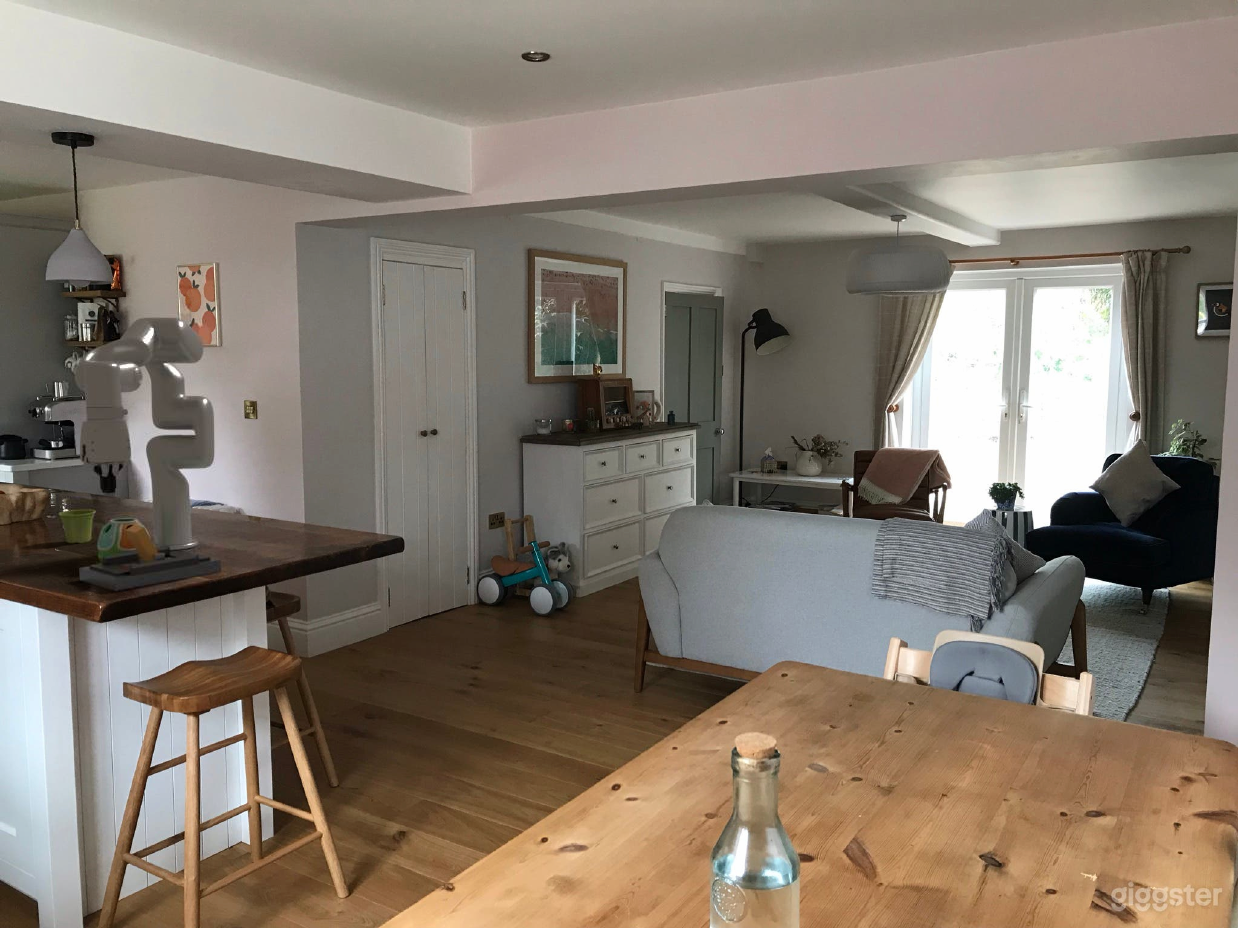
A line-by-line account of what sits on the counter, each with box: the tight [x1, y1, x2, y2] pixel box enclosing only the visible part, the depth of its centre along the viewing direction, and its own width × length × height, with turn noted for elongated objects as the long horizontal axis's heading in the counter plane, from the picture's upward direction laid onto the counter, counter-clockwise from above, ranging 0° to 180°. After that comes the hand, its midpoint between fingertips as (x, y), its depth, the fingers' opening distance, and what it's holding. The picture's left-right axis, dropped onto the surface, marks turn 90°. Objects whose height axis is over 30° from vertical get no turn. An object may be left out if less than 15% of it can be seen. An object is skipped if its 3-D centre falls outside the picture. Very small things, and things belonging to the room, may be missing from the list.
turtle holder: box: [96, 517, 151, 564], centre depth 255 cm, size 12×18×12 cm
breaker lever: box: [125, 525, 158, 562], centre depth 239 cm, size 6×2×9 cm, turn 52°
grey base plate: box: [78, 550, 222, 592], centre depth 241 cm, size 18×26×6 cm
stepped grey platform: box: [102, 546, 200, 576], centre depth 241 cm, size 20×18×2 cm
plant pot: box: [58, 509, 96, 544], centre depth 285 cm, size 9×9×9 cm
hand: (108, 492), depth 232 cm, fingers closed
